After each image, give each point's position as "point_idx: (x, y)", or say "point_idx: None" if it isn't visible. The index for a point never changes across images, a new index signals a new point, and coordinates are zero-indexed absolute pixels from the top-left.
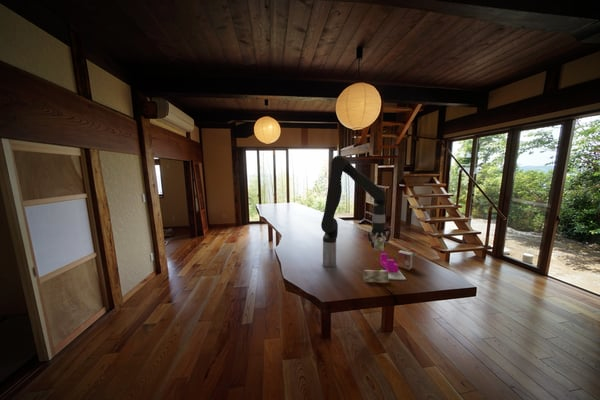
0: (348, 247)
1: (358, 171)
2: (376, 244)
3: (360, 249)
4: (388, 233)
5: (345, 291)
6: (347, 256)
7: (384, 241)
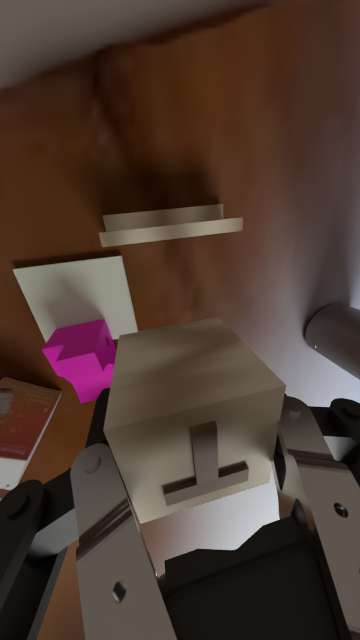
0: None
1: None
2: (230, 361)
3: None
4: None
5: (324, 72)
6: None
7: (95, 463)
